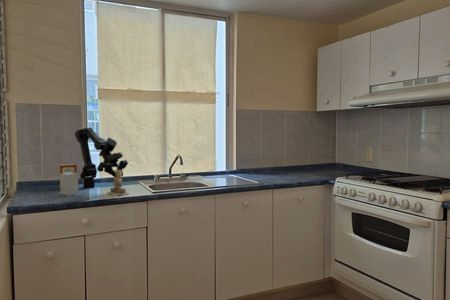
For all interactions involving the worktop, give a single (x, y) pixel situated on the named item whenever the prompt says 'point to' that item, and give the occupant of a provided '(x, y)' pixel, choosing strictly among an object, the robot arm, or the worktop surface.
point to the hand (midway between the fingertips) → (119, 176)
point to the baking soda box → (68, 168)
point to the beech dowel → (118, 178)
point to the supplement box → (69, 183)
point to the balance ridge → (117, 191)
